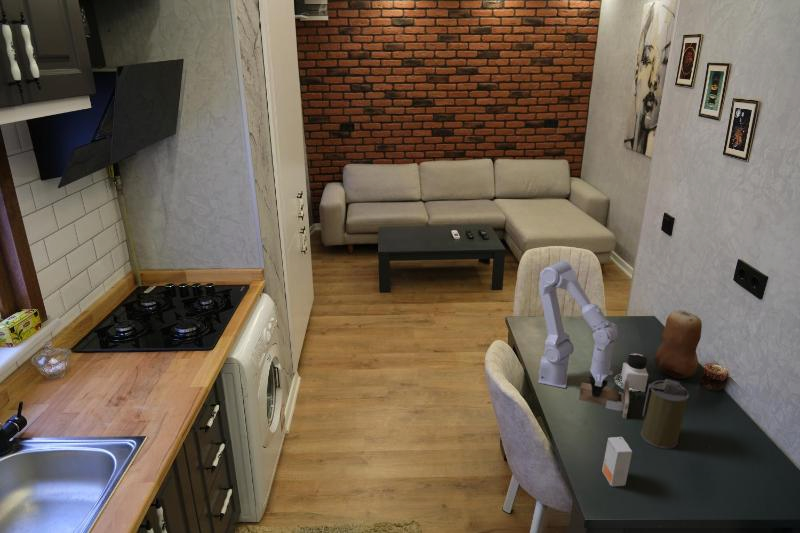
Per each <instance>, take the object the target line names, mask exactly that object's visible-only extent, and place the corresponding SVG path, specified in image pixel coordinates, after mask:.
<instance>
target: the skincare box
mask: <svg viewBox="0 0 800 533" xmlns="http://www.w3.org/2000/svg"><path fill="white" fill-rule="evenodd" d="M632 455H633V450H632V449H631V447H630V446H629V444H628V443H627V442H626V441H625V439H624V437H623V436H612V437H608V438H607V442H606V448H605V453H604V458H603V464H602V469H601V472H602V473H603V475H604V476H605V478H606V480H607V482H608V483H609V485H610V487H624V486H626V483H627V478H628V475H629V469H630V465H631V459H632Z"/></svg>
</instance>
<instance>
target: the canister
mask: <svg viewBox="0 0 800 533" xmlns="http://www.w3.org/2000/svg"><path fill="white" fill-rule="evenodd" d="M689 397H690V393H689V391H688V390H687V388H685V387H684V386H682V385H681V382H680V381H676V380H672V379H667V378H666V379H664V380H663V379H662V380H661V379H660V380H654V381H653V382H651V383H648V385H647V391H646V396H645V401H644V406H643V410H642V417H643V424H642V428H641V430H640V436H641V438H642V439H643V440H644V441H645V442H646V443H648V444H649V445H651V446H652V447H655V448H658V449H662V450H667V449H668V450H670V449H674V448H675V447H677V445H678V444H679V443H678V442H679V440H678V439H679V436H680V431H681V428H682V422H683V419H684V416H685V411H686V407H687V404H688V403H687V402H688V399H689Z"/></svg>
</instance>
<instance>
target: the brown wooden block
mask: <svg viewBox="0 0 800 533" xmlns="http://www.w3.org/2000/svg"><path fill="white" fill-rule="evenodd" d="M619 392H620V389H616V388H611V387H607V386H605V387H604V388H603V390H602V392H601V394H600V396H599V398H598V397H594V396H592V386H591V383H586V382H583V381H581V384H580V390H579V396H578V397H579V398H578V400H580V401H583V402H589V403H591V404H593V403H594V404H597V405H603V406H606V402H607V399H609V400H614V401H618V397H619Z"/></svg>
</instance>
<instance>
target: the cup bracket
mask: <svg viewBox="0 0 800 533" xmlns="http://www.w3.org/2000/svg"><path fill="white" fill-rule="evenodd" d="M623 407H624V393H623V392H621V391H619V397H618V401H614V400H609V399H607V402H606V405H605V409H609V410H613V411H618V412H622V411H623Z"/></svg>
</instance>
